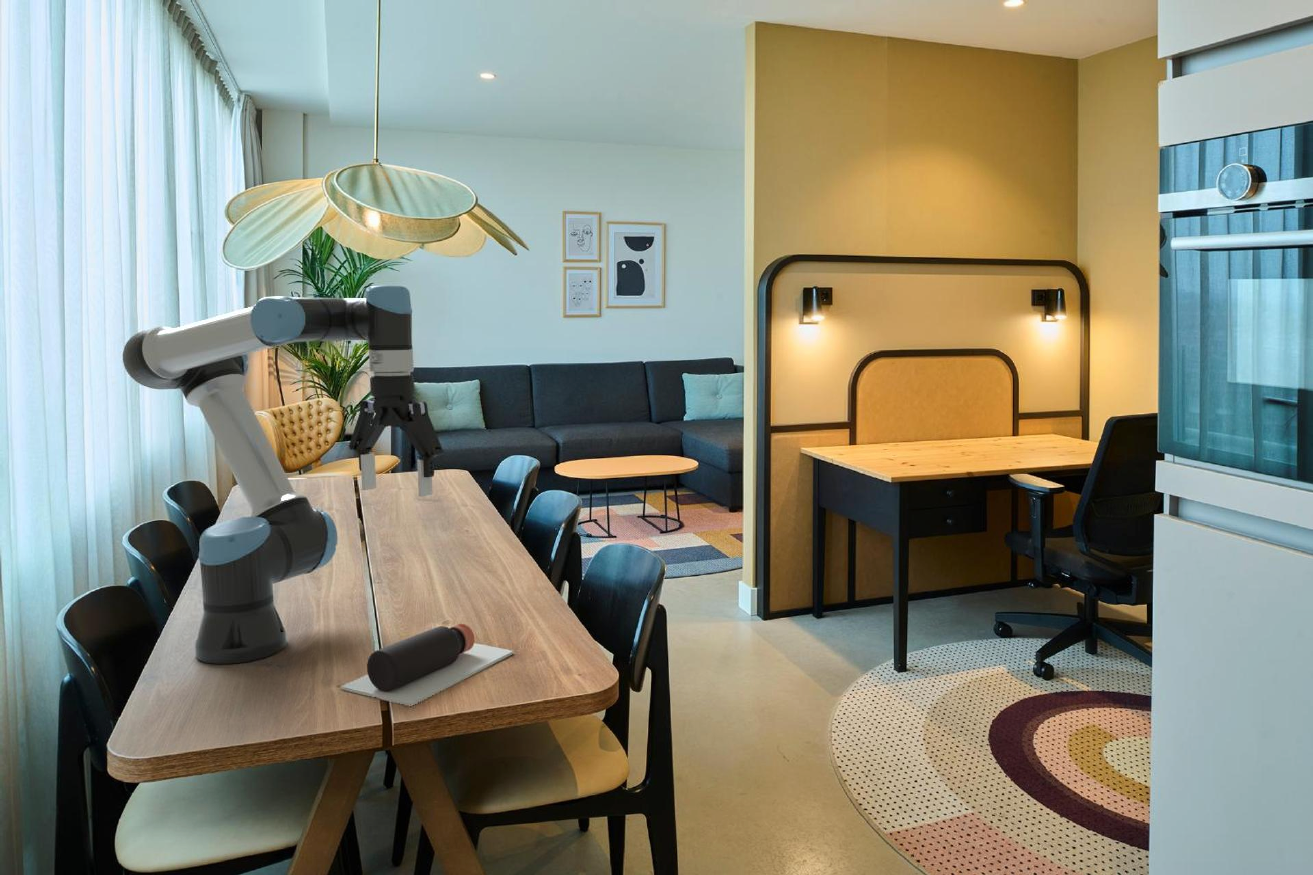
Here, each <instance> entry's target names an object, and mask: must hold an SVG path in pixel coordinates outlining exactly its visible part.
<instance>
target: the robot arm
mask: <svg viewBox="0 0 1313 875" xmlns="http://www.w3.org/2000/svg"><path fill="white" fill-rule="evenodd" d="M411 302H412V301H411V293H410V290H409V289H408V288H407V287H405V286H401V285H371V286H368V287H366V290H365V296H364V297H363V298H357V297H356V298H355V297H353V298H352V297H349V298H348V297H345V298H344V297H304V296H303V297H300V296H285V295H274V296H265V297H262V298H260V299H259V300H257V302H256V303H255V304H254V305H253V306H251V307H247V308H241V309H239V310H236V311H232V312H229V313H224V314H222V315H217V316H214V317H211V318H207V319H204V320H200V321H197V322H193V323H189V324H186V325H182V326H179V327H175V328H172V327H168V326H158V327H154V328H153V327H152V328H150V329H145V330H142V331H139V332H137V333H135V334H134V335H132V336H131V337H130V338H129V339H128V341H127V342H126V343H125V345H124V348H123V352H122V362H123V367H124V369H125V370H126V372H127V374H128V375H129V377H130V378H131V379H132V380H134V381H135V382H136V383H138V384H140V386H144V387H146V388H148V389H153V390H181V393H182V395H183V396H184V398H185V400H186V402H187V403H188V405H190V406H194V407H197V408H199V409H200V411H201V413H202V415H203V417H204V420H205V421H206V423H207V426H208V427H209V430H210V431H211V433H212V435H213V437H214V439H215V442H216V443H217V445H218V447H219V450H220V451H221V454H222V455H223V457H224V459H225V461H226V463H227V465H228V468H229V469H230V471H231V473H232V475H233V477H234V479H235V481H236V483H237V485H238V487H239V489H240V491H241V493H242V496H243V497H244V499H245V501H246V503H247V506H248V507H249V509H250V511H251V515H250V516H246V517H244V516H243V517H239V518H235V519H228V520H224V521H221V522H218V523H215V524H213V525H212V526H209V527H208V528H206V529H205V530H204V531H203V532H202V533H201V535H200V538H199V552H198V560H199V565H200V566H199V568H200V577H201V590H202V591H201V593H202V604H203V605H202V606H203V615H202V618H201V621H200V625H199V630H198V635H197V638H196V640H195V643H194V645H195V646H194V648H195V649H194V650H195V657H196V659H197V660H198V661H201V662H204V663H208V664H214V665H215V664H216V665H217V664H218V665H227V664H239V663H245V662H246V663H247V662H251V661H256V660H260V659H263V658H266V657H270V656H273V655H274V654H277V653H279V652H281V651H282V650H283V649H284V648H285V647H286V646H287V632H286V629H285V627H284V625H283V622H282V619H281V618H280V615H279V613H278V611H277V608H276V605H275V603H274V588H273V587H274V585H273V584H276V583H279V582H280V583H281V582H282V581H283V582H284V581H286V580H289V579H292V578H295V577H298V576H301V575H306V574H310V573H311V574H312V572H314V571H316V570H318V569H321V568H323V567H324V566H326V565H328V564H329V563H330V561H332V559H333V558H334V555H335V554H336V550H337V549H336V548H337V547H336V546H337V545H338V540H339V539H338V531H337V526H336V523H335V521H334V520H333V518H332V517H331V515H330V514H328V513H327V512H326V511H323V509H319V508H313V507H312V505H311V503H310V501H309V499H308V498H307V496H305V495H302V494H299V493H296V492H295V490H294V488H293V486H292V484H291V482H290V480H289V478H288V476H287V474H286V472H285V470H284V468H283V465H282V464H281V462H280V461H279V458H278V457H277V455H276V452H275V451H274V449H273V447H272V444H271V443H270V441H269V439H268V437H267V435H266V433H265V431H264V428H263V427H262V425H261V423H260V421H259V419H258V417H257V415H256V413H255V412H254V411H255V410H254V409H253V407H252V405H251V404H250V401H249V400H248V398H247V395H246V394H245V392H244V388H245V386H246V384H247V378H246V375H247V373H248V369H249V364H247V362H248V361H249V356H248V354H253V353H257V352H259V351H264V350H267V349H271V348H274V347H275V348H276V347H280V346H285V345H289V344H292V343H303V342H328V341H329V342H330V341H331V342H336V341H337V342H342V341H367V344H368V357H369V358H368V359H369V372H370V373H372V374H373V375H371V376H370V377H369V388H370V389H369V390H370V395H371V397H373V399H365V400H361V401H360V403H359V414H358V416H357V420H356V423H355V426H354V429H353V432H352V435H351V439H350V442H349V445H348V448H349V450H350V451H355V452H356V453H357V455H358V467H359V471H360V473H361V490H362V491H368V490H374V489H377V477H376V476H377V475H376V454H375V452H374V450H373V448H374V446H376V443H377V442H378V440H379V439H380V438H381V435H382V434H383V432H384V431H385V429H386V428H387V427H393V428H399V429H400V430H402V431H403V432H404V434H405V435H406V437H407V439H409V441H410V443H411V444H412V446H413V448H414V450H415V451H416V452H417V453H418V455H419V458H418V459H417V460H416V461H417V462H416V464H417V486H418V489H417V490H418V497H422V498H423V497H426V496H431V495H433V494H434V493H433V477H434V476H435V462H434V461H435V458H436V457H438V456H441V455H443V454H444V449H443V447H442V445H441V442H440V440H439V437H438V434H437V432H436V429H435V427H434V425H433V423H432V420H431V418H430V415H429V411H428V410H429V409H428V402H426V401H420V402H413V399H412V397H413V396H414V395H415V377H414V376H413V374H411V373H412V372H414V371H415V370H414V369H415V368H414V354H413V353H414V351H413V338H412V337H413V335H412V334H413V318H412V317H413V316H412V314H413V309H412V303H411Z"/></svg>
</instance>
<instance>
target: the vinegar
mask: <svg viewBox="0 0 1313 875" xmlns="http://www.w3.org/2000/svg"><path fill="white" fill-rule="evenodd" d="M474 643H475V634H474V631H473V630H472V629H471V627H470V626H469V625H467V624H465V623H458V624H457V625H454V626H451V627H450V628H449V627H447V626H442V625H441V626H437V627H434V628H431V629H429V630H427V631H424V632H421V633H418V634H416V635H413V636H411V637H408V638H406V639H404V640H400V641H398V642H395V643H393V644H390V645H387V646H385V647H382V648H380V649H377V650H375V651H373V652H372V653H371V654H370V655H369V657H368V659H367V663H366V672H367V674H368V676H369V679H370V681H371V682H372V684H373V685H374V686H375V687H376V688H377V689H379V690H380V691H384V692H388V691H392V690H394V689H396V688H399V687H401V686H403V685H405V684H408V683H410V682H412V681H414V680H416V679H419V678H421V677H423V676H425V675H428V674H430V673H432V672H434V671H437V670H439V669H441V668H443V667H446V666H448V665H450V664H452V663H453V662H455V661H456V660H457V658H458V656H459V654H462V653H464V652H466V651H468V650H470V649H471V648H472V647H473V645H474Z"/></svg>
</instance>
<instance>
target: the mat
mask: <svg viewBox="0 0 1313 875" xmlns="http://www.w3.org/2000/svg"><path fill="white" fill-rule="evenodd" d="M513 654H514V650H511V649H507V648H506V649H505V648H501V647H496V646H491V645H486V644H480V643H475V642H474V645H473V647H472V648H471V649H470V650H468V651H466V652H464V653H462V654H459V656H458V658H457V660H456V661H455V662H453V663H452V664H450V665H448V666H446V667H443V668H441V669H439V670H437V671H434V672H432V673H430V674H428V675H425V676H423V677H421V678H419V679H416V680H414V681H412V682H410V683H408V684H405V685H403V686H401V687H399V688H396V689H394V690H392V691H388V692H384V691H380V690H379V689H377V688H376V687H375V686H374V685H373V684H372V682H371V681H370V679H369V676H368V673H367V674H365V675H363V676H361V677H358V678H357V679H354V680H352V681H351V682H347V683H345V684H343V685H341V686H340V690H343V691H347V692H350V693H355V694H358V695H363V696H366V695H367V697H370V696H371V697H370V698H374V697H378V698H379V700H382V701H386V702H390V703H394V704H399V703H400V704H399V705H402V704H405V705H404V706H406V705H408V706H407V707H410V706H412V707H414V706H416V705H417V704H419V703H421V702H423V701H425V700H427V699H429V698H430V697H433V696H435V695H436V693H437V694H438V693H441V692H443V691H444V690H447V689H448V688H450V687H452V686H454V685H456V684H459V682H462V681H464V680H465V679H467V678H469V677H471V676H473V675H475V674H477V673H479V672H481V671H483V670H485V669H486V668H488V667H490V666H492V665H495V664H496V663H498V662H500V661H502V660H504V659H506V658H508V657H510V656H512V655H513ZM440 691H441V692H440ZM432 695H433V696H432ZM428 697H429V698H428ZM378 698H377V699H378ZM424 699H425V700H424ZM422 700H423V701H422ZM420 701H421V702H420ZM418 702H419V703H418ZM415 704H416V705H415ZM413 705H414V706H413Z"/></svg>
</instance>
